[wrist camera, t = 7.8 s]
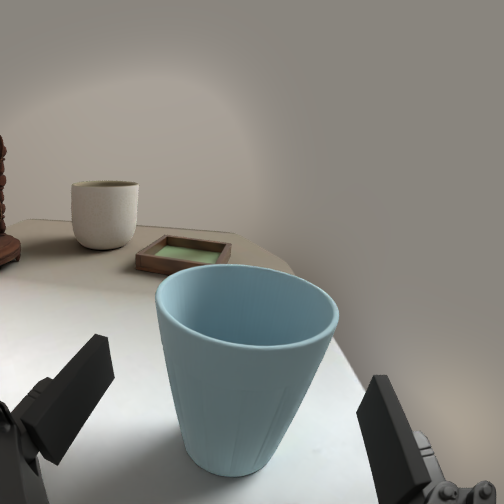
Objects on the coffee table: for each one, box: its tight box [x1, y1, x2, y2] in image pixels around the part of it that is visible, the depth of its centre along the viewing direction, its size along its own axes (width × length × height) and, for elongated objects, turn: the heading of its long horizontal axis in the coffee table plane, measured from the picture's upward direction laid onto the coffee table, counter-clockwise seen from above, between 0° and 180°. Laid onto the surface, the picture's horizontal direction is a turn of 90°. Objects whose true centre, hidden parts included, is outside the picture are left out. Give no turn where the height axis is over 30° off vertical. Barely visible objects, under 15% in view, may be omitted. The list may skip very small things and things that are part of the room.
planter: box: [71, 181, 139, 250], centre depth 47 cm, size 12×12×11 cm
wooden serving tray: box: [136, 235, 232, 275], centre depth 45 cm, size 12×12×2 cm
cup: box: [155, 264, 339, 477], centre depth 14 cm, size 8×8×10 cm
